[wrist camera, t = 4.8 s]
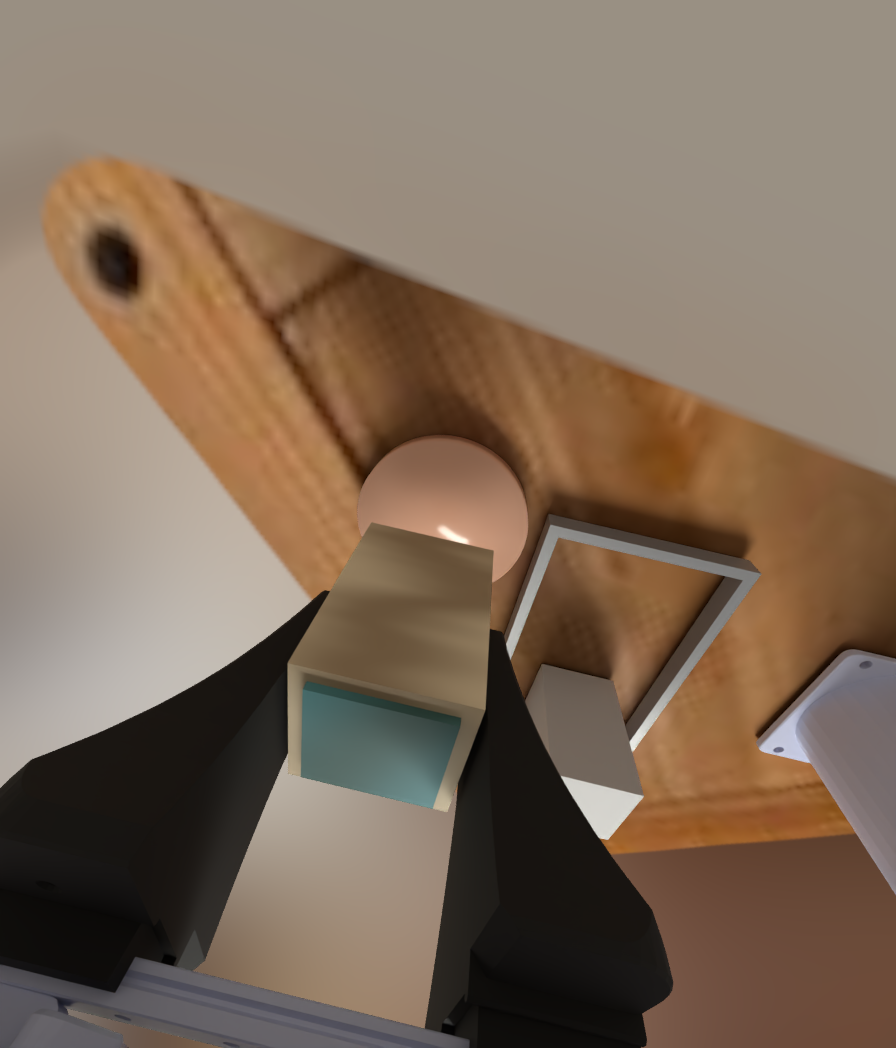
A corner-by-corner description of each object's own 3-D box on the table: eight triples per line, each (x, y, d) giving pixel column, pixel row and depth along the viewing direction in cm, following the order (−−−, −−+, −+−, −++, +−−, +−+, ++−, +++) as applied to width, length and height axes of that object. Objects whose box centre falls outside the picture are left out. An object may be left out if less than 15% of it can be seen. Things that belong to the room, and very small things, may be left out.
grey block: (613, 680, 23) (643, 796, 17) (587, 724, 25) (607, 839, 19) (541, 663, 23) (551, 773, 18) (521, 708, 25) (524, 819, 20)
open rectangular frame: (749, 560, 18) (761, 573, 17) (618, 749, 25) (622, 766, 24) (548, 513, 18) (550, 524, 17) (475, 715, 25) (474, 730, 25)
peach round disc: (549, 457, 17) (551, 466, 16) (502, 595, 21) (502, 609, 20) (372, 416, 17) (365, 423, 16) (357, 561, 21) (351, 573, 20)
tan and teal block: (493, 550, 13) (485, 719, 8) (467, 639, 15) (445, 820, 10) (371, 522, 13) (282, 671, 8) (360, 614, 15) (284, 782, 10)
